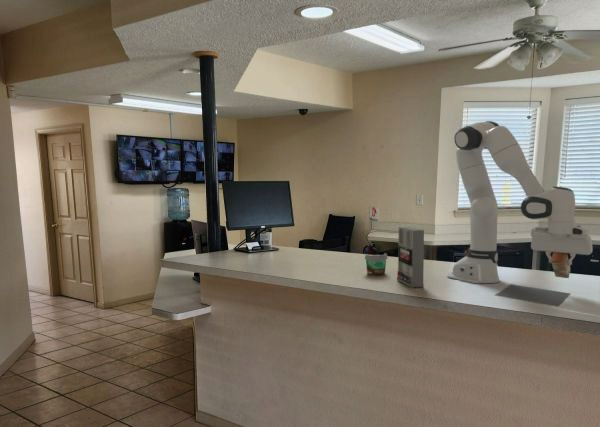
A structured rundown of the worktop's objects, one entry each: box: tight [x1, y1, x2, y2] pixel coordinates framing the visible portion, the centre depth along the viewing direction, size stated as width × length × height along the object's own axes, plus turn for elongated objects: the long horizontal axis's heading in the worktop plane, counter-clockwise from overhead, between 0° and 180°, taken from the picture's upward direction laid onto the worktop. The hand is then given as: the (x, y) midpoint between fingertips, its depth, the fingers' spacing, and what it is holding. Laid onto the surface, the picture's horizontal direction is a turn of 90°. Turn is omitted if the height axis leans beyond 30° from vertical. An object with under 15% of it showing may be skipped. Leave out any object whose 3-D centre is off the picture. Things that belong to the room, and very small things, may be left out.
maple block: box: [551, 252, 571, 279], centre depth 161 cm, size 4×4×11 cm
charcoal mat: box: [494, 284, 571, 307], centre depth 163 cm, size 22×22×1 cm
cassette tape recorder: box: [396, 226, 425, 289], centre depth 183 cm, size 14×6×25 cm, turn 13°
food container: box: [364, 252, 389, 277], centre depth 202 cm, size 12×6×10 cm, turn 114°
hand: (560, 263), depth 160 cm, fingers closed on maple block, 4 cm apart
